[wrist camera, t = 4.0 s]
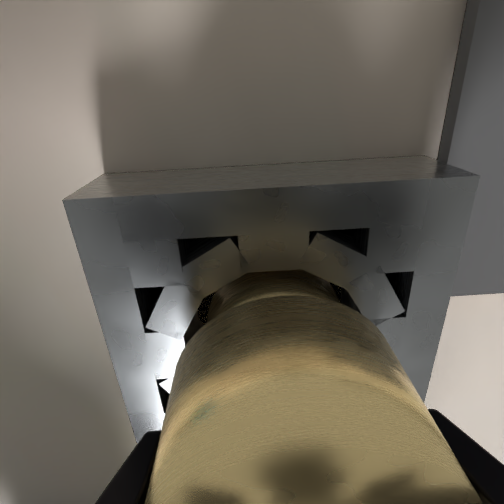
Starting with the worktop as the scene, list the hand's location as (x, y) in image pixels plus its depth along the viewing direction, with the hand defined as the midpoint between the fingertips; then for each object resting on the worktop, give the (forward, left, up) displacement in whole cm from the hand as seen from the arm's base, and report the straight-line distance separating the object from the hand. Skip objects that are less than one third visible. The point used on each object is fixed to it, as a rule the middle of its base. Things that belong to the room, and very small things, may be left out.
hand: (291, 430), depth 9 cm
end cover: (0, 0, -4) cm, 4 cm away
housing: (0, 0, -6) cm, 6 cm away
